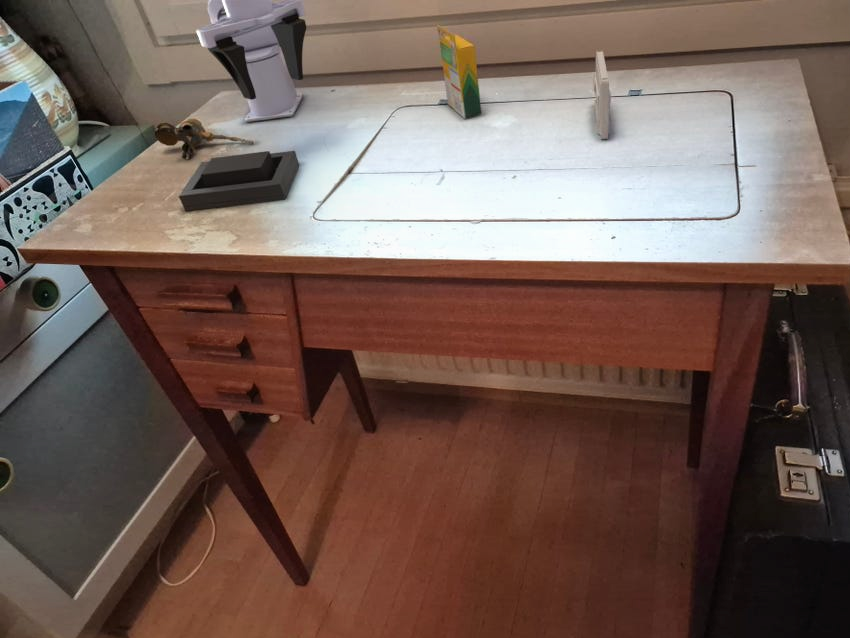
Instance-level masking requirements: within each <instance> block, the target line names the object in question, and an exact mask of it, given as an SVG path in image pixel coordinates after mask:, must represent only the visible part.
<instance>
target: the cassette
mask: <svg viewBox="0 0 850 638" xmlns="http://www.w3.org/2000/svg"><path fill="white" fill-rule="evenodd" d="M595 52H596V53H595V55H596V56H595V73H594V74H593V91H594V96H595V99H594V110H593V111H594V117H595V118H594V119H595V125H596V126H595V127H596V132H597V135H599V136H600V140H608V139H609V135H610V134H611V133H610V114H609V113H610V110H611V103H612V94H611V93H612V92H611V91H610V80H609V76H608V71H607V65H606V59H605V55H604V50H603V49H602V50H596V51H595Z"/></svg>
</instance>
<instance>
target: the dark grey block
mask: <svg viewBox="0 0 850 638" xmlns="http://www.w3.org/2000/svg"><path fill="white" fill-rule="evenodd" d="M270 154H271V152H270V150H265V151H257V152H250V153H242V154H241V153H240V154H234V155H225V156H217V157H211V158H210V159H209V160H208V161H209V163H208V164H207V166H206V167H205V169H204V170H203V172H202V173H201V177H202V179H203V182H204V184H205V186H206V188H212V187H220V186H228V185H236V184H245V183H253V182H261V181H269V180H272V178H273V176H274V174H275V172H276V169H275V166H274V163H273V160H272V157H271V155H270Z"/></svg>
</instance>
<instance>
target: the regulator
mask: <svg viewBox="0 0 850 638" xmlns="http://www.w3.org/2000/svg"><path fill="white" fill-rule="evenodd" d="M154 137H155V139H156V140H157V141H158V142H159V143H160V144H163V145H165V146H168V147H170V146H171V147H172V146H176V145H177V144H178V143H179V142H183V144H182V146H181V151H182V154H181V159H184V160H189V159H191V157H190V156H191V155H193V154H194V153H195V148H199V146H200V145H202V143H203V141H206V142H213V141H214V140H228V141H232V142H238V141H239V142H241V143H244V142H245V143H248V144H252V145H254V141H253V140H249V139H245V138H240V137H237V136H226V135H223V134H214V133H213V132H210V131H206V129H205V127H204V126H203V124H202V122H201V121H199V119H197V118H188V119H187V120H186V121H182V122H180V124H179V126H178V127H176V126H174V125H173V124H170V123H169V122H163V123H162V122H161V123H159V124H158V125H157V126H156V128H155V132H154Z"/></svg>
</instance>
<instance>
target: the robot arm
mask: <svg viewBox="0 0 850 638" xmlns="http://www.w3.org/2000/svg"><path fill="white" fill-rule="evenodd" d="M206 8H207V13H208V15H209V19H210V24H208V25H206V26H203V27H201V28H198V29H196V30H195V32H196V34H197V37H198V39H199V42H200V45H201V47H203V48H205V49H206V48H207V50H208V51H209V53H210V54H211V55H212V56H213V57H214V58H215V59H216V60H217V61H218V62H219V63H220V64H221V65H222V66H223V68H224V69H225V70H226V71H227V73H228V74H229V75H230V77H231V78H232V80H233V81H234V83H235V85H236V86H237V87H238V89H239V91H240V93H241V94H242V96H243V99H244V98H245V99H246V101H247V103H248V106H249V109H250V110H249V112H248V113H247V114H246V116H245V117H244V121H245V122H246V123H250V122H257V121H265V120H273V119H280V118H289V117H293V116H294V114H295V113H296V110H297V108H298V106H299V105H300V102H301V101H302V98H303V97H304V95H303V93H302V92H301V93H300V92H299V93H297V90H296V88H295V84H294V80H297V81H301V80H303V79H304V71H303V49H304V41H305V36H306V35H305V34H306V31H307V23H306V20H305V19H304V18H301V17H303V16H306V15H307V14H306V10H305V7H304V2H303V0H281V1H277V2H273V0H208V2H207V7H206Z"/></svg>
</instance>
